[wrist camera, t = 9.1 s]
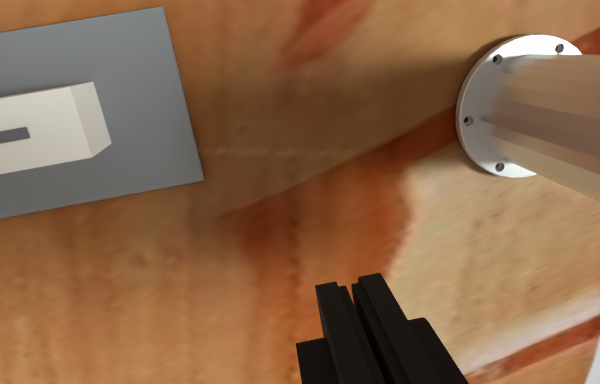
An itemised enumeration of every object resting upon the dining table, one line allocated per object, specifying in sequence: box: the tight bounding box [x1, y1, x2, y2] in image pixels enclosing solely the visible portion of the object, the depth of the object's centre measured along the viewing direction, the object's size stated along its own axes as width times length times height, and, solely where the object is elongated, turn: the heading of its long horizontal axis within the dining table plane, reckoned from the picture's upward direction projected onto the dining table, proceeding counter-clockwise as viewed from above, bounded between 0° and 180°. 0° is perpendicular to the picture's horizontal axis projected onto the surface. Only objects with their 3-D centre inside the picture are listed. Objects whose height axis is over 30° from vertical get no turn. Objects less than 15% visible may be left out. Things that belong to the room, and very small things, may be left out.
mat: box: [0, 7, 204, 218], centre depth 36 cm, size 18×14×1 cm
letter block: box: [0, 82, 112, 174], centre depth 33 cm, size 5×5×12 cm
